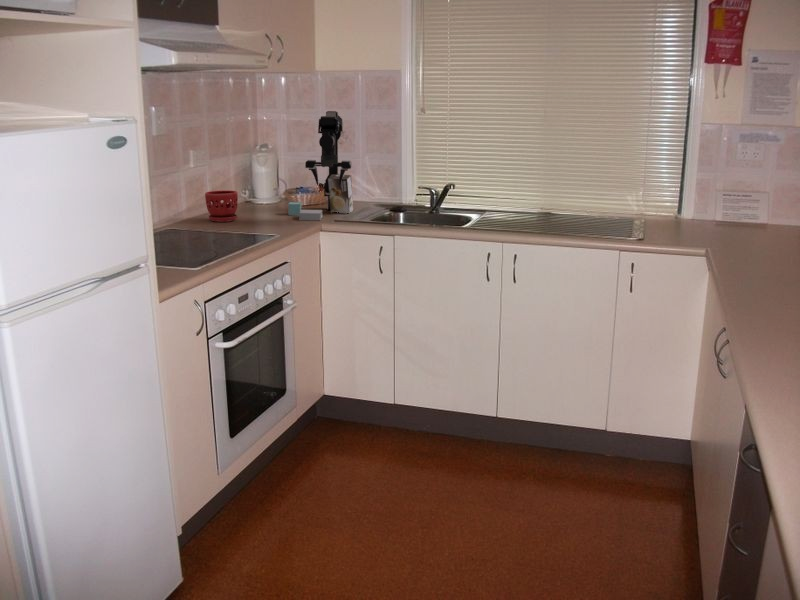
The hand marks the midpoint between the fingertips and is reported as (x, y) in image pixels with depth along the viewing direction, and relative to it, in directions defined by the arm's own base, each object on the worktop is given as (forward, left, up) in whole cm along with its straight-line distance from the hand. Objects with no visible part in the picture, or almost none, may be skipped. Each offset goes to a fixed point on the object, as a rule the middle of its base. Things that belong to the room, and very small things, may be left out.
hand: (328, 185), depth 335 cm
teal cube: (-13, -16, -15) cm, 25 cm away
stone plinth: (-3, -8, -15) cm, 17 cm away
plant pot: (+5, -44, -15) cm, 47 cm away
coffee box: (-21, +4, -14) cm, 25 cm away
